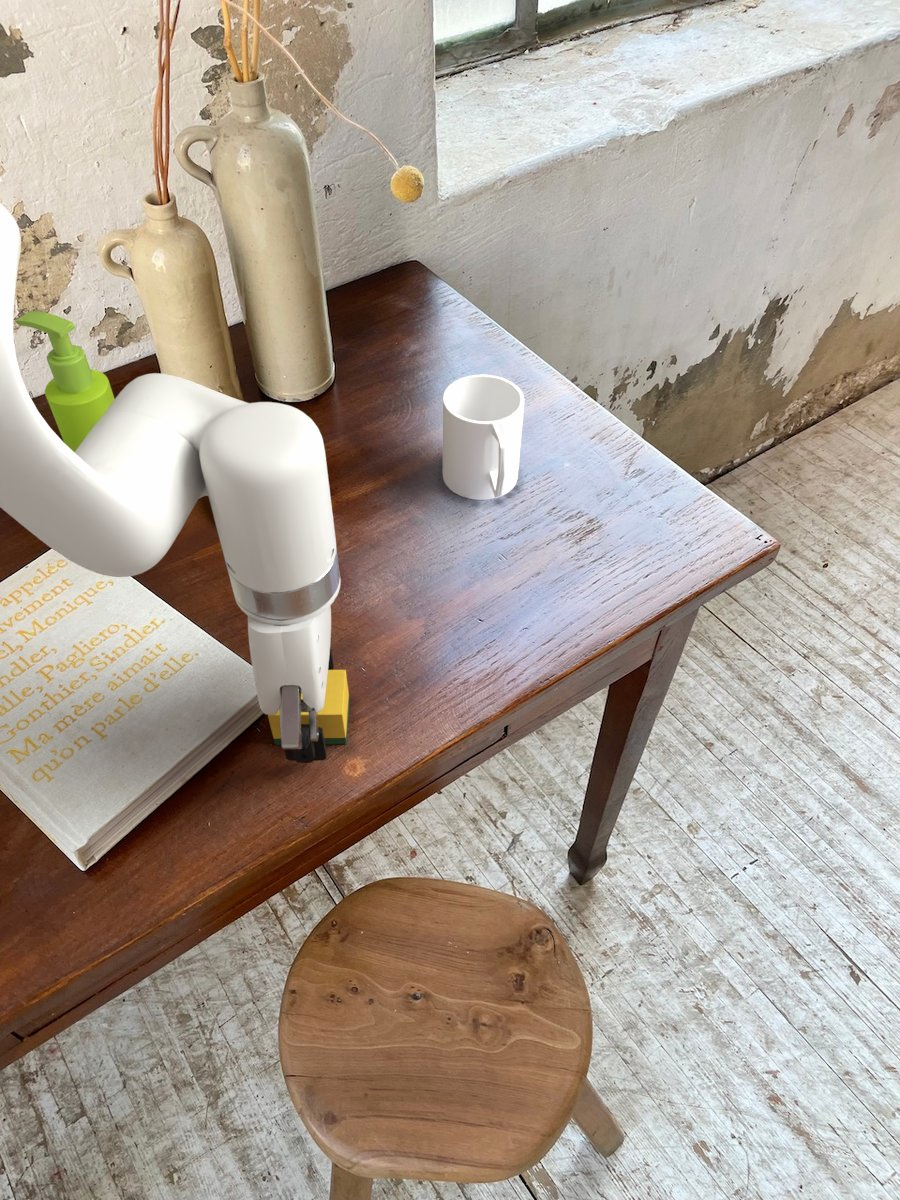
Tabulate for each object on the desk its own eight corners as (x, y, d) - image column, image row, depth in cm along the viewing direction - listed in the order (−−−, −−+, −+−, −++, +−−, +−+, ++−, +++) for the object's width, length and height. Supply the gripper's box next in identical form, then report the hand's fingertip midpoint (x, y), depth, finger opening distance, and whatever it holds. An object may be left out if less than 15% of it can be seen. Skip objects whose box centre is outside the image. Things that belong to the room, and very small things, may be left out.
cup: (460, 529, 93) (462, 453, 85) (435, 455, 100) (435, 379, 93) (537, 518, 94) (545, 442, 86) (506, 445, 101) (512, 370, 94)
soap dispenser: (102, 462, 99) (42, 295, 84) (153, 481, 97) (101, 314, 82) (65, 494, 95) (-5, 326, 80) (117, 514, 93) (56, 346, 78)
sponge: (275, 745, 75) (267, 715, 72) (280, 700, 78) (273, 669, 75) (346, 744, 76) (342, 714, 72) (349, 700, 79) (345, 669, 75)
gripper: (246, 487, 68) (277, 632, 81) (211, 672, 57) (253, 806, 70) (345, 486, 68) (360, 631, 82) (330, 671, 57) (350, 805, 70)
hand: (311, 712), depth 76 cm, fingers open, 8 cm apart
